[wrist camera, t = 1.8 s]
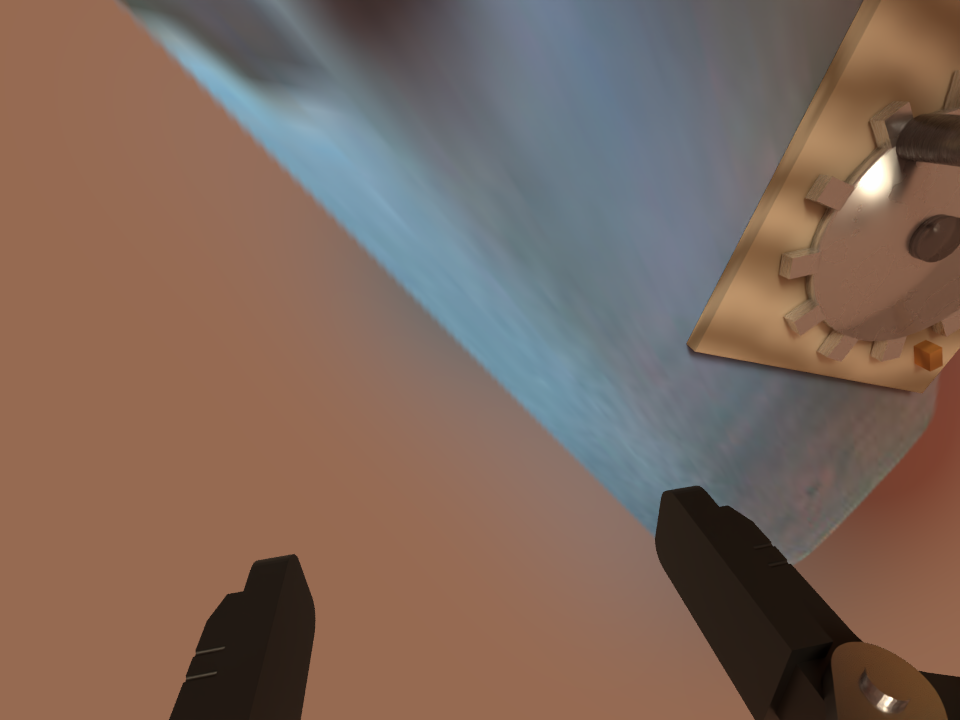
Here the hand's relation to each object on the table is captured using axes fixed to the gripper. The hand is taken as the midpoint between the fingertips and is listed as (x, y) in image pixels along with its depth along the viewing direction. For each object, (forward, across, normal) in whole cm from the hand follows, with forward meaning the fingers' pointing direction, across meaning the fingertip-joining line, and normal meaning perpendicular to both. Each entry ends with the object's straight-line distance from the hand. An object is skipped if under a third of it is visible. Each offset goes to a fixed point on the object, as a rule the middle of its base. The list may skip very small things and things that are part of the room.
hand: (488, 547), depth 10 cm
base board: (+27, -41, +2) cm, 49 cm away
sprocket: (+26, -41, +2) cm, 48 cm away
